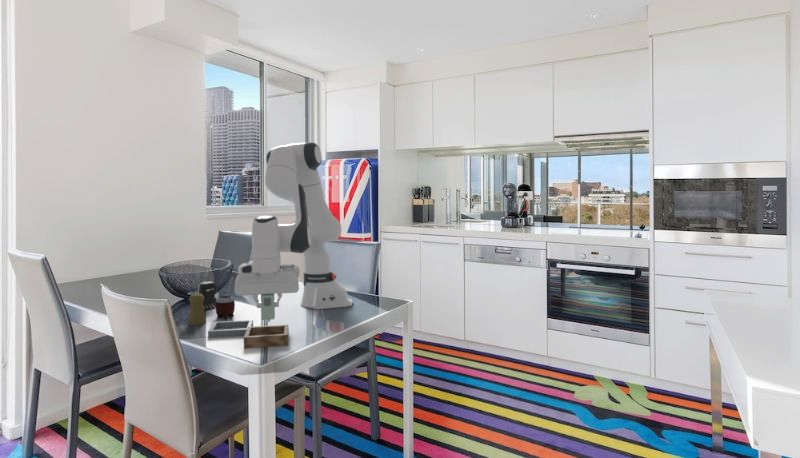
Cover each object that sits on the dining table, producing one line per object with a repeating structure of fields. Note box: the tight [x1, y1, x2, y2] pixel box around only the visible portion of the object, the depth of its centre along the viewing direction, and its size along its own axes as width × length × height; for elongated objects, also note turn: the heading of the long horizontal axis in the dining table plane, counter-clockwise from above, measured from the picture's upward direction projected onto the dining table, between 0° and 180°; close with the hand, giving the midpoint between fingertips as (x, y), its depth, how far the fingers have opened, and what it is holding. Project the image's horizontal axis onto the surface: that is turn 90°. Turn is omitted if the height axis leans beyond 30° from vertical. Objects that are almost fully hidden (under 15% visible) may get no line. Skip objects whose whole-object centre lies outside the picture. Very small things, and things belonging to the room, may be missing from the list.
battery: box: [197, 281, 217, 311], centre depth 187 cm, size 7×4×11 cm, turn 147°
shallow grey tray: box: [207, 319, 254, 339], centre depth 159 cm, size 13×11×2 cm
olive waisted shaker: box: [188, 293, 207, 327], centre depth 168 cm, size 6×6×11 cm
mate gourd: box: [215, 276, 236, 320], centre depth 176 cm, size 8×8×15 cm
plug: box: [260, 294, 276, 321], centre depth 148 cm, size 4×5×8 cm
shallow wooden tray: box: [243, 324, 290, 349], centre depth 149 cm, size 13×11×4 cm
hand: (268, 307), depth 148 cm, fingers closed on plug, 4 cm apart
